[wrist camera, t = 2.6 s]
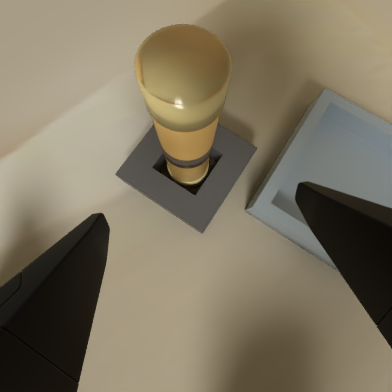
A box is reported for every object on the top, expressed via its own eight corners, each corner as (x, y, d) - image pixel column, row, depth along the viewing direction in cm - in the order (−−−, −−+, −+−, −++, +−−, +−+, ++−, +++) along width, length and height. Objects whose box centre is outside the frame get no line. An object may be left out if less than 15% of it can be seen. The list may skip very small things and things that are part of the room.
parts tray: (427, 173, 23) (462, 164, 20) (374, 294, 20) (404, 303, 18) (309, 105, 24) (325, 87, 22) (244, 210, 22) (252, 206, 19)
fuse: (214, 164, 23) (250, 53, 9) (193, 195, 22) (197, 126, 8) (183, 144, 23) (171, 9, 9) (161, 174, 22) (114, 74, 9)
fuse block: (250, 157, 23) (257, 147, 21) (201, 233, 21) (202, 233, 19) (176, 111, 24) (174, 97, 21) (123, 181, 22) (115, 174, 20)
